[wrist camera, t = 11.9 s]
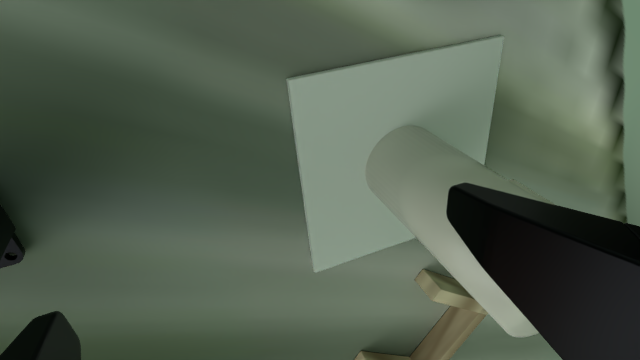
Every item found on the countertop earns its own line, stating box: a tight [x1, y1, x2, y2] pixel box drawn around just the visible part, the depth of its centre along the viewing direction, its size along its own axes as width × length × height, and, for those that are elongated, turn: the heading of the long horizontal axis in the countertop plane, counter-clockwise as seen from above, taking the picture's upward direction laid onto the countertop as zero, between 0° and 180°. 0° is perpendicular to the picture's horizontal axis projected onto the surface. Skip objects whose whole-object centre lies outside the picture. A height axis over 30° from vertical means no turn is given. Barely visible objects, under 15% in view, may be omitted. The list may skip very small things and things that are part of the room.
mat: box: [286, 35, 504, 273], centre depth 26 cm, size 14×14×1 cm
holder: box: [354, 269, 488, 360], centre depth 35 cm, size 8×11×2 cm
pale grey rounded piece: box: [365, 125, 555, 337], centre depth 21 cm, size 8×5×12 cm
